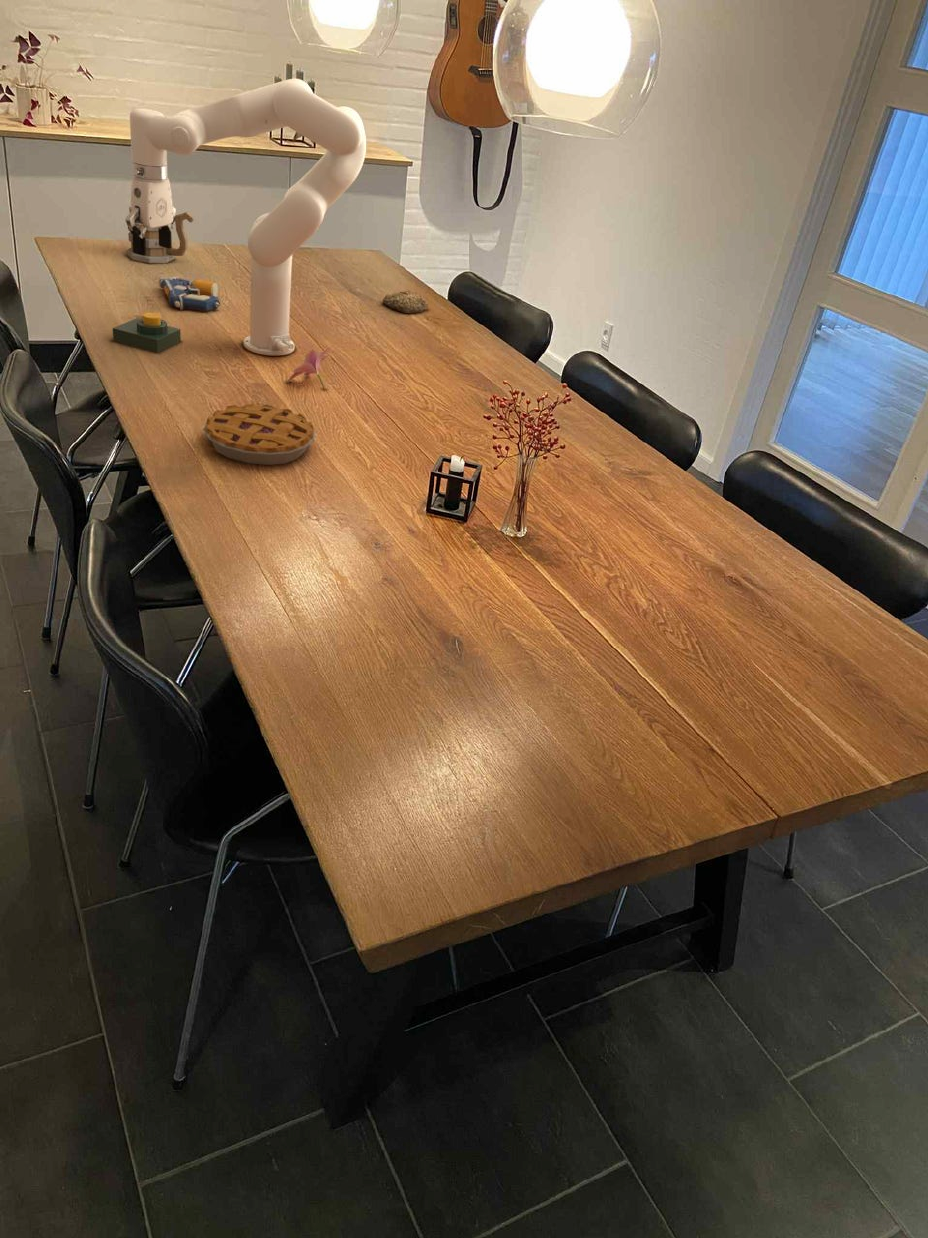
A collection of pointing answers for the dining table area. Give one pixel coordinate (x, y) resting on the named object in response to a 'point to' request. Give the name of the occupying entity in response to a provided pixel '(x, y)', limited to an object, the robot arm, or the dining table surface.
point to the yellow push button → (151, 319)
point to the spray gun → (191, 293)
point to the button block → (147, 335)
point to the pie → (259, 434)
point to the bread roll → (406, 302)
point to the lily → (310, 364)
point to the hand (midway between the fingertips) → (152, 250)
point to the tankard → (152, 243)
